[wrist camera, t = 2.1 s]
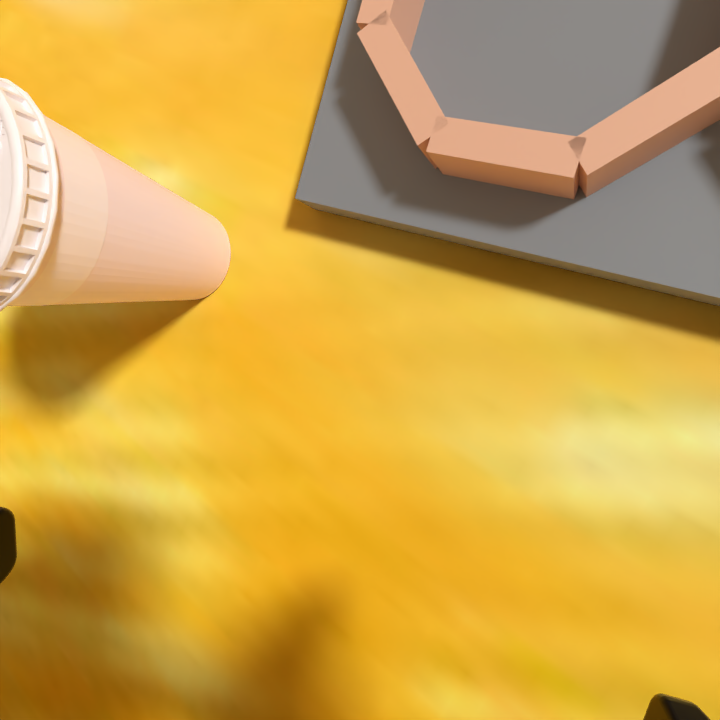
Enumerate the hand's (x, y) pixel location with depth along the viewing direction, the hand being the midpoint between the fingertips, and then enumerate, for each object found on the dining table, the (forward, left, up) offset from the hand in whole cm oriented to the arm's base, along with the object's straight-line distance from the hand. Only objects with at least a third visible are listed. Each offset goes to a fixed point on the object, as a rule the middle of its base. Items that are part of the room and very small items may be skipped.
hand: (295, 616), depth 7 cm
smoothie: (+4, +13, -12) cm, 18 cm away
